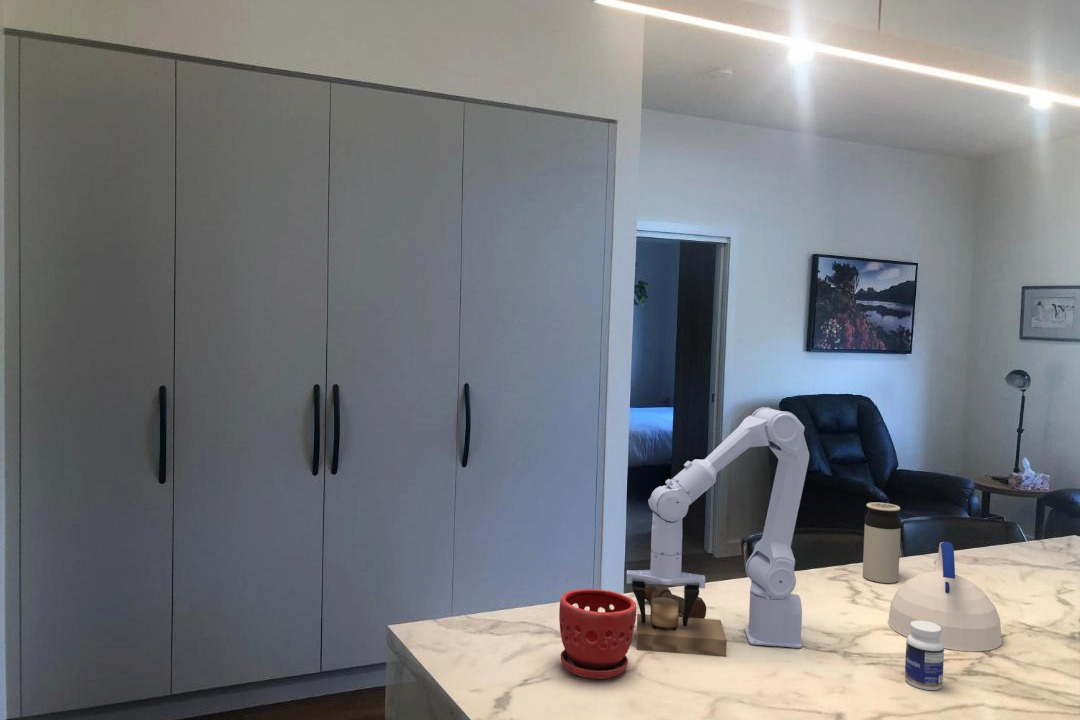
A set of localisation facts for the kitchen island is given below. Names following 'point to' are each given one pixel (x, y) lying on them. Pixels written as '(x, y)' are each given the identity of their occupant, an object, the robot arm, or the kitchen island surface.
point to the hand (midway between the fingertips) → (664, 622)
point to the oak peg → (664, 613)
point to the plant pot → (596, 632)
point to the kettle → (947, 607)
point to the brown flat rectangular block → (683, 637)
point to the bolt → (698, 606)
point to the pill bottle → (924, 656)
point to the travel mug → (881, 543)
